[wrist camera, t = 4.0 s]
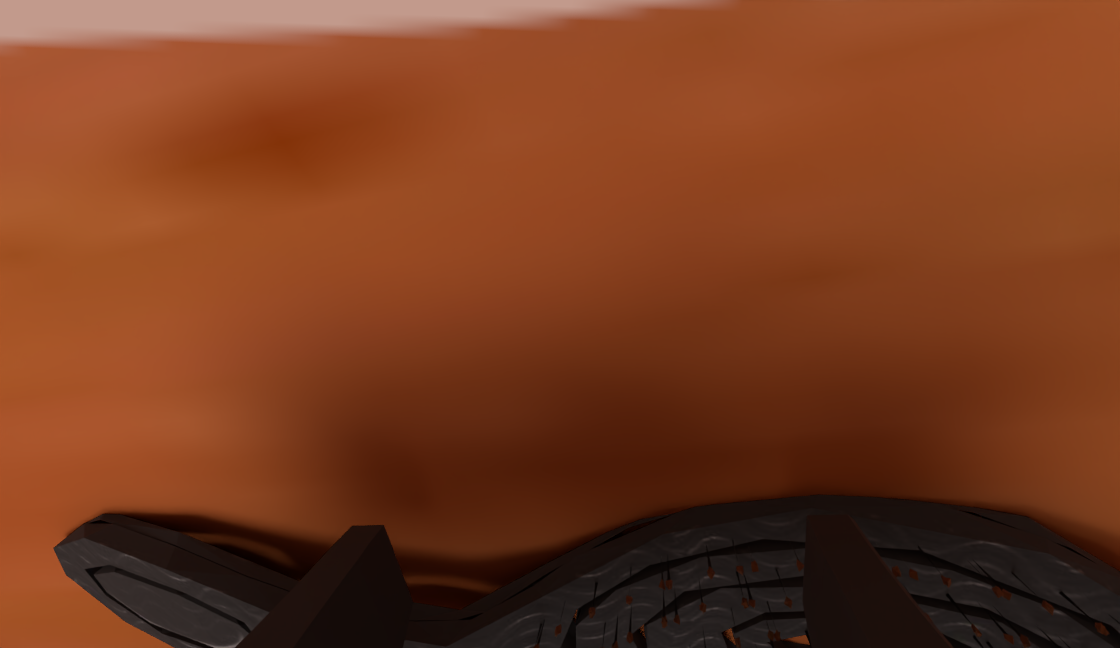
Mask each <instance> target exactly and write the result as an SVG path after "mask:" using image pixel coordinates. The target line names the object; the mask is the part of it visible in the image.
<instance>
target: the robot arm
mask: <svg viewBox="0 0 1120 648" xmlns="http://www.w3.org/2000/svg"><path fill="white" fill-rule="evenodd" d="M802 602H803V607H804V612H805V617H806V622H807V627H808V632H809V638H810V642H811V647H812V648H954V647H953V646H952V645H951V644H950V643H949V641H948V640H947V639H946V638H945V637H944V635H943V634H942V633H941V632H940V631H939V629H938V628H937V627H936V626H935V625H934V624H933V622H932V621H931V620H930V619H929V618H928V616H927V615H926V614H925V613H924V612H923V610H922V609H921V608H920V607H919V606H918V604H917V603H916V602H915V601H914V599H913V598H912V597H911V596H910V594H909V593H908V592H907V591H906V589H905V588H904V587H903V586H902V584H901V583H900V582H899V580H898V579H897V578H896V576H895V575H894V574H893V573H892V571H891V570H890V569H889V567H888V566H887V565H886V563H885V562H884V561H883V559H882V558H881V557H880V555H879V554H878V553H877V551H876V550H875V549H874V547H873V546H872V545H871V543H870V542H869V540H868V539H867V537H866V536H865V535H864V533H863V532H862V530H861V529H860V528H859V526H858V525H857V523H856V522H855V520H854V519H853V518H851V517H850V516H849V515H848V514H836V515H807V520H806V540H805V559H804V579H803V598H802ZM412 605H413V600H412V598H411V595H410V592H409V590H408V587H407V585H406V582H405V579H404V577H403V574H402V571H401V569H400V566H399V564H398V561H397V558H396V556H395V553H394V550H393V548H392V545H391V543H390V540H389V537H388V535H387V532H386V529H385V527H384V525H367V526H352V527H351V528H350V529H349V530H348V531H347V532H346V533H345V534H344V535H343V536H342V537H341V538H340V539H339V540H338V541H337V542H336V543H335V544H334V545H333V546H332V547H331V548H330V549H329V550H328V551H327V552H326V554H325V555H324V556H323V557H322V558H321V559H320V560H319V561H318V562H317V563H316V564H315V565H314V566H313V567H312V568H311V570H310V571H309V572H308V573H307V574H306V575H305V576H304V577H303V578H302V579H301V580H300V581H299V582H298V583H297V584H296V586H295V587H294V588H293V589H292V590H291V591H290V592H289V593H288V594H287V595H286V596H285V597H284V598H283V599H282V600H281V601H280V602H279V603H278V604H277V605H276V606H275V607H274V608H273V609H272V610H271V611H270V613H269V614H268V615H267V616H266V617H265V618H264V619H263V620H262V621H261V622H260V623H259V624H258V625H257V626H256V627H255V628H254V629H253V630H252V631H251V632H250V633H249V634H248V635H247V636H246V637H245V638H244V639H243V640H242V641H241V642H240V643H239V644H238V645H237V646H236V647H235V648H403V645H404V641H405V637H406V633H407V628H408V624H409V619H410V614H411V610H412Z"/></svg>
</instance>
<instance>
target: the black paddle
mask: <svg viewBox="0 0 1120 648" xmlns="http://www.w3.org/2000/svg"><path fill="white" fill-rule="evenodd" d="M959 510H962V511H968V512H973V513H976V514H979V515H981V517H982V518H981V517H978V516H975V515H972V514H969V513H965V512H962V511H959ZM673 514H674V515H672V514H668V515H662V516H657V517H651V518H646V519H640V520H638V521H635V522H633V523H630V524H628V525H625V526H622V527H620V528H617V529H615V530H612V531H609V532H607V533H605V534H603V535H601V536H599V537H597V538H595V539H593V540H591V541H589V542H587V543H586V544H584V545H582V546H580V547H578V548H576V549H574V550H572V551H570V552H568V553H566V554H564V555H562V556H560V557H558V558H557V559H555V560H553V561H551V562H549V563H547V564H545V565H543V566H541V567H540V568H538V569H536V570H534V571H532V572H530V573H528V574H526V575H525V576H523V577H521V578H519V579H517V580H515V581H513V582H512V583H510V584H508V585H506V586H504V587H502V588H500V589H498V590H497V591H495V592H493V593H491V594H489V595H487V596H485V597H484V598H482V599H480V600H478V601H476V602H474V603H472V604H470V605H469V606H467V607H465V608H463V609H461V610H457V609H451V608H445V607H439V606H433V605H427V604H421V603H415V602H413V605H412V610H411V614H410V619H409V624H408V628H407V633H406V637H405V641H404V645H403V648H812V647H811V642H810V638H809V632H808V627H807V622H806V617H805V612H804V607H803V602H802V598H803V579H804V559H805V540H806V520H807V515H836V514H848V515H849V516H850V517H851V518H853V519H854V520H855V522H856V523H857V525H858V526H859V528H860V529H861V530H862V532H863V533H864V535H865V536H866V537H867V539H868V540H869V542H870V543H871V545H872V546H873V547H874V549H875V550H876V551H877V553H878V554H879V555H880V557H881V558H882V559H883V561H884V562H885V563H886V565H887V566H888V567H889V569H890V570H891V571H892V573H893V574H894V575H895V576H896V578H897V579H898V580H899V582H900V583H901V584H902V586H903V587H904V588H905V589H906V591H907V592H908V593H909V594H910V596H911V597H912V598H913V599H914V601H915V602H916V603H917V604H918V606H919V607H920V608H921V609H922V610H923V612H924V613H925V614H926V615H927V616H928V618H929V619H930V620H931V621H932V622H933V624H934V625H935V626H936V627H937V628H938V629H939V631H940V632H941V633H942V634H943V635H944V637H945V638H946V639H947V640H948V641H949V643H950V644H951V645H952V646H953V647H954V648H1120V571H1118V570H1116V569H1115V568H1113V567H1111V566H1109V565H1108V564H1106V563H1104V562H1103V561H1101V560H1099V559H1098V558H1096V557H1094V556H1093V555H1091V554H1089V553H1088V552H1086V551H1084V550H1083V549H1081V548H1079V547H1077V546H1076V545H1074V544H1072V543H1071V542H1069V541H1067V540H1066V539H1064V538H1062V537H1061V536H1059V535H1057V534H1056V533H1054V532H1052V531H1050V530H1049V529H1047V528H1045V527H1044V526H1042V525H1040V524H1039V523H1037V522H1035V521H1034V520H1032V519H1030V518H1029V517H1026V516H1020V515H1014V514H1009V513H1003V512H998V511H992V510H987V509H981V508H975V507H966V506H957V505H948V504H939V503H930V502H921V501H913V500H905V501H904V499H899V500H896V498H893V499H887V498H879V497H860V496H837V495H810V496H800V497H789V498H779V499H768V500H757V501H747V502H736V503H726V504H715V505H707V506H699V507H694V508H690V509H687V510H684V511H681V512H678V513H673ZM669 515H671V516H669ZM666 516H669V517H667V518H664V519H662V520H659V521H657V522H655V523H652V524H650V525H648V526H645V527H643V528H641V529H638V530H636V531H633V532H631V533H629V534H626V535H624V536H622V537H619V538H617V539H615V540H612V541H610V542H607V543H605V544H603V542H604V541H606V540H608V539H609V538H611V537H613V536H615V535H617V534H618V533H620V532H622V531H624V530H625V529H627V528H629V527H632V526H636V525H639V524H642V523H646V522H649V521H652V520H656V519H659V518H662V517H666ZM97 520H103V521H106V522H109V523H112V524H91V522H94V521H97ZM602 544H603V545H602ZM53 549H54V551H55V553H56V555H57V557H58V559H59V561H60V563H61V566H62V568H63V570H64V572H65V574H66V575H67V576H68V577H69V578H71V579H72V580H73V581H75V582H76V583H77V584H78V585H80V586H81V587H82V588H83V589H85V590H86V591H87V592H88V593H90V594H91V595H92V596H93V597H95V598H96V599H97V600H99V601H100V602H101V603H102V604H104V605H105V606H106V607H107V608H109V609H110V610H111V611H112V612H114V613H115V614H116V615H118V616H119V617H120V618H121V619H123V620H124V621H125V622H127V623H129V624H130V625H132V626H134V627H136V628H138V629H140V630H142V631H144V632H146V633H148V634H150V635H151V636H153V637H155V638H157V639H159V640H161V641H163V642H165V643H167V644H169V645H171V646H172V647H174V648H235V647H236V646H237V645H238V644H239V643H240V642H241V641H242V640H243V639H244V638H245V637H246V636H247V635H248V634H249V633H250V632H251V631H252V630H253V629H254V628H255V627H256V626H257V625H258V624H259V623H260V622H261V621H262V620H263V619H264V618H265V617H266V616H267V615H268V614H269V613H270V611H271V610H272V609H273V608H274V607H275V606H276V605H277V604H278V603H279V602H280V601H281V600H282V599H283V598H284V597H285V596H286V595H287V594H288V593H289V592H290V591H291V590H292V589H293V588H294V587H295V586H296V584H297V583H298V582H299V581H297V580H295V579H292V578H290V577H288V576H285V575H283V574H280V573H278V572H275V571H273V570H270V569H268V568H266V567H263V566H261V565H258V564H256V563H253V562H251V561H248V560H246V559H244V558H241V557H239V556H236V555H234V554H231V553H229V552H226V551H224V550H222V549H219V548H217V547H214V546H212V545H209V544H207V543H204V542H202V541H200V540H197V539H195V538H192V537H190V536H187V535H185V534H182V533H180V532H177V531H174V530H170V529H167V528H163V527H160V526H157V525H153V524H150V523H147V522H143V521H140V520H137V519H133V518H130V517H126V516H123V515H120V514H102V515H100V516H98V517H96V518H94V519H93V520H91V521H89V522H87V523H84V524H83V525H81V526H80V527H79V528H78V529H77V530H75V531H74V532H73V533H72V534H70V535H69V536H68V537H67V538H65V539H64V540H63V541H62V542H60V543H59V544H58V545H57V546H55V547H54V548H53ZM576 610H577V617H576V623H575V622H574V621H573V617H574V615H575V612H576ZM642 625H644V631H645V637H646V639H645V638H644V636H643V635H642V634H641V632H640V631H639V630H638V629H639V628H640V627H641V626H642ZM730 628H732V632H733V636H734V639H735V643H736V645H735V644H733V643H732V642H731V641H730V640H729V639H728V638H727V637H726V636H724V635H723V634H722V632H723V631H726V630H728V629H730ZM641 635H642V636H643V637H642V636H641ZM802 635H806V636H807V638H808V640H809V643H810V645H806V644H800V643H794V642H788V641H782V639H787V638H792V637H797V636H802ZM644 639H645V640H646V641H645V640H644Z"/></svg>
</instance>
